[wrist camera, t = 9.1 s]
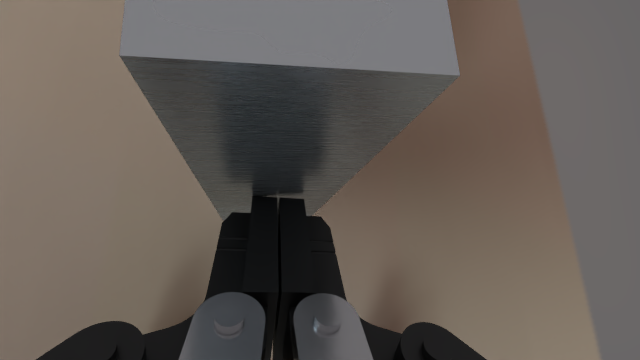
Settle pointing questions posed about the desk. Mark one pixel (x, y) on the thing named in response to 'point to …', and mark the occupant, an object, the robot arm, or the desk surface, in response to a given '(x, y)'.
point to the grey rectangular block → (286, 86)
